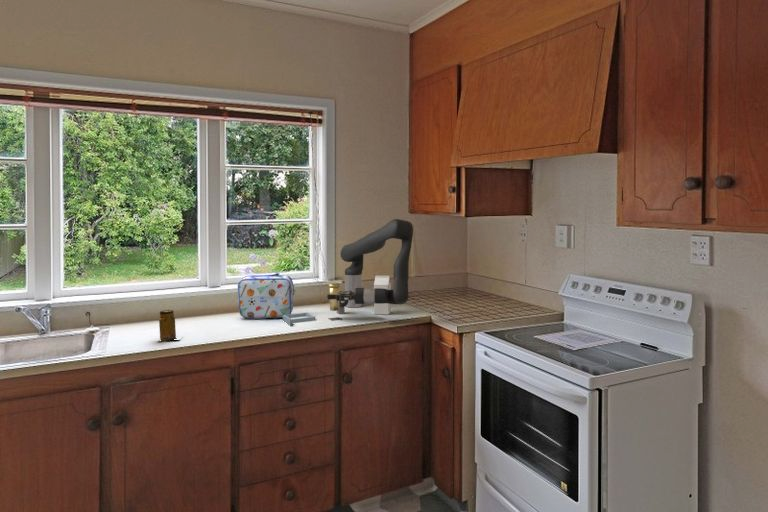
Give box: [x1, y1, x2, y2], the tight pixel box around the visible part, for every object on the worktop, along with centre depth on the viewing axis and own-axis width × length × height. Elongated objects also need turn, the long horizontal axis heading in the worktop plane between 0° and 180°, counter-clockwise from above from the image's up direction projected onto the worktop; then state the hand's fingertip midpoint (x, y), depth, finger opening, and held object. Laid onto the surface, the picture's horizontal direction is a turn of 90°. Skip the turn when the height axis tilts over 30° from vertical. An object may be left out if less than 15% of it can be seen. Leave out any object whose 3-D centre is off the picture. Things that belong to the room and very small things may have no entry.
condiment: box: [157, 309, 177, 343], centre depth 214 cm, size 7×8×12 cm
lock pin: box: [328, 282, 341, 312], centre depth 243 cm, size 5×5×12 cm
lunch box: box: [237, 272, 297, 320], centre depth 255 cm, size 28×10×22 cm, turn 94°
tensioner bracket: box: [327, 301, 348, 322], centre depth 248 cm, size 18×14×11 cm
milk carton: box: [373, 275, 392, 316], centre depth 261 cm, size 7×7×19 cm
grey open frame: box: [282, 312, 316, 327], centre depth 244 cm, size 12×12×3 cm
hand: (328, 295), depth 243 cm, fingers closed on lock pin, 4 cm apart
